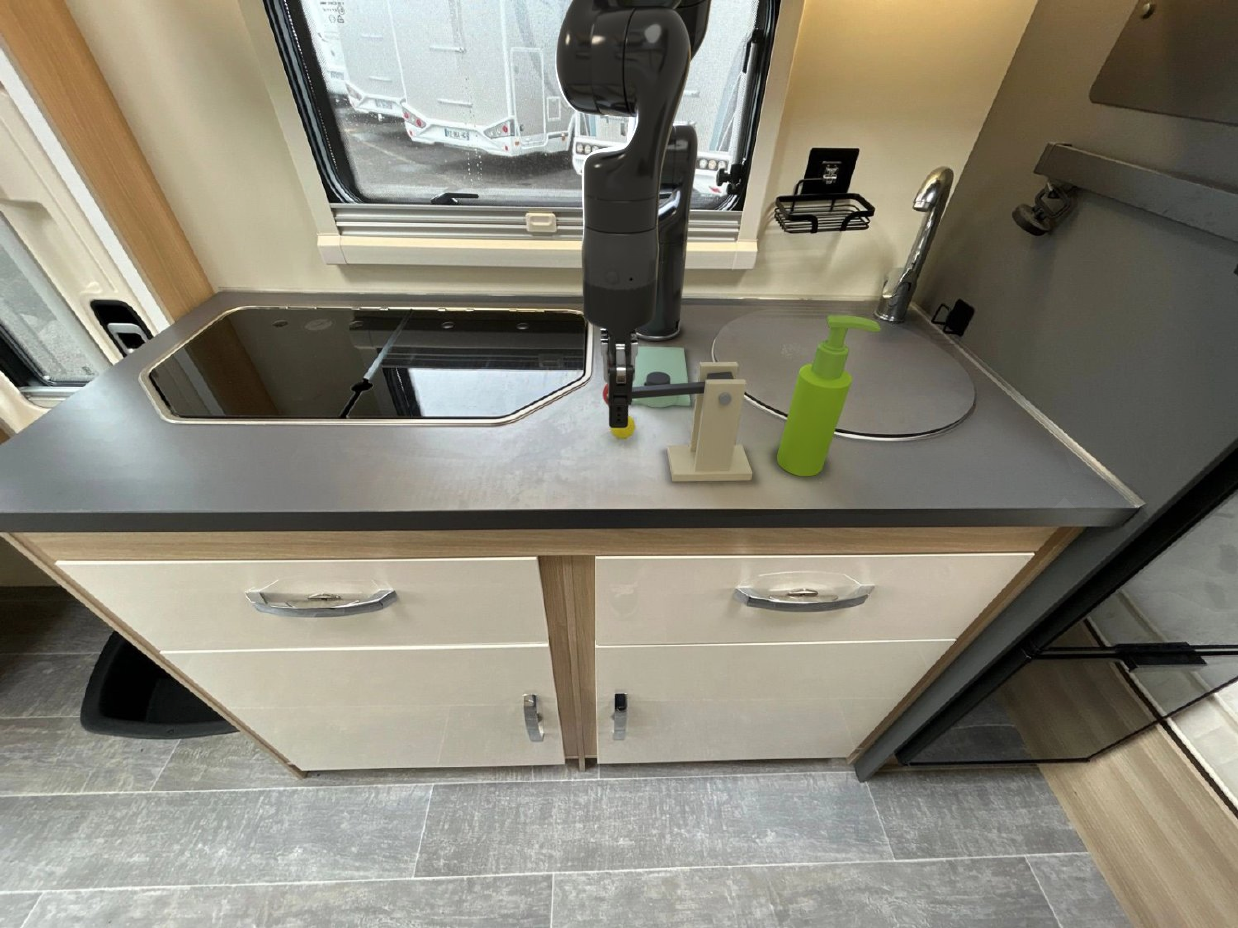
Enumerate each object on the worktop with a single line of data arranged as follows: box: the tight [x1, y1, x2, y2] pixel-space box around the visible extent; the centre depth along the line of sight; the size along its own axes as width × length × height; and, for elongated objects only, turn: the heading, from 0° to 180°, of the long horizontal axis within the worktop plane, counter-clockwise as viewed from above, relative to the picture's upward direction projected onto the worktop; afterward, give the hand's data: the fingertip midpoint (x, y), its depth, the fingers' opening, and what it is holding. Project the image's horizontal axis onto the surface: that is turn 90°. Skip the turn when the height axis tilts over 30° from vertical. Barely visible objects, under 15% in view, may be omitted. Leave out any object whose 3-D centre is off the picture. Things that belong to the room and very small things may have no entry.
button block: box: [631, 345, 691, 408], centre depth 85 cm, size 20×10×2 cm, turn 178°
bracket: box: [666, 361, 753, 483], centre depth 64 cm, size 10×6×14 cm, turn 92°
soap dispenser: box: [776, 314, 882, 477], centre depth 63 cm, size 6×7×20 cm
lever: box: [602, 372, 734, 406], centre depth 61 cm, size 15×3×3 cm, turn 92°
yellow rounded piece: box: [609, 414, 636, 440], centre depth 73 cm, size 3×6×4 cm, turn 175°
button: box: [646, 372, 671, 386], centre depth 79 cm, size 4×4×2 cm
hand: (617, 415), depth 63 cm, fingers closed on lever, 3 cm apart
